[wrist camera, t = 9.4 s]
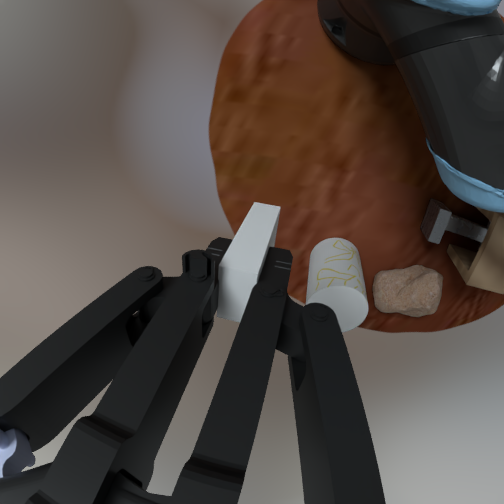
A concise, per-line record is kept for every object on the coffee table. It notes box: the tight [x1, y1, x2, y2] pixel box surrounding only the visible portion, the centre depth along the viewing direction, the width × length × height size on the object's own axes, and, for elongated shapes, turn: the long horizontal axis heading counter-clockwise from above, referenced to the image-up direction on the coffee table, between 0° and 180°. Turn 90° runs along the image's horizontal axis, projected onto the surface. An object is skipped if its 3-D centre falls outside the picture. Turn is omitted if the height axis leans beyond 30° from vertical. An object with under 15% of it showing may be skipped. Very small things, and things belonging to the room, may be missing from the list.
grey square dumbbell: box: [420, 198, 491, 250], centre depth 33 cm, size 6×26×5 cm, turn 83°
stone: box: [372, 265, 443, 317], centre depth 41 cm, size 12×9×10 cm
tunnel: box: [446, 206, 504, 294], centre depth 31 cm, size 11×9×9 cm
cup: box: [306, 238, 368, 332], centre depth 39 cm, size 8×8×12 cm
